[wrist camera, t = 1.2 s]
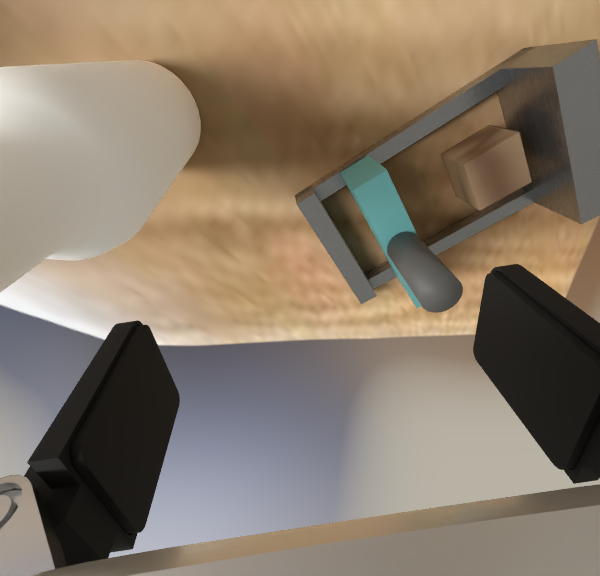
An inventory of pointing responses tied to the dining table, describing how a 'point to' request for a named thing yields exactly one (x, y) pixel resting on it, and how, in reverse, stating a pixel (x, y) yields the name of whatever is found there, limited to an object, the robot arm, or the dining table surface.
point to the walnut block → (487, 166)
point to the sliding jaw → (401, 238)
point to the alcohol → (86, 156)
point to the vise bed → (518, 117)
